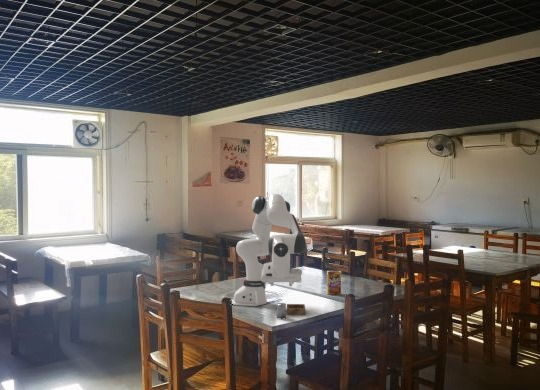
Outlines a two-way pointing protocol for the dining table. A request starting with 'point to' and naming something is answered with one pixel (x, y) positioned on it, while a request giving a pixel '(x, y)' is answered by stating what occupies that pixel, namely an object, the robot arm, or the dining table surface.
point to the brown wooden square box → (295, 309)
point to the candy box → (333, 282)
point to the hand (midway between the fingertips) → (281, 284)
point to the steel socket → (281, 310)
